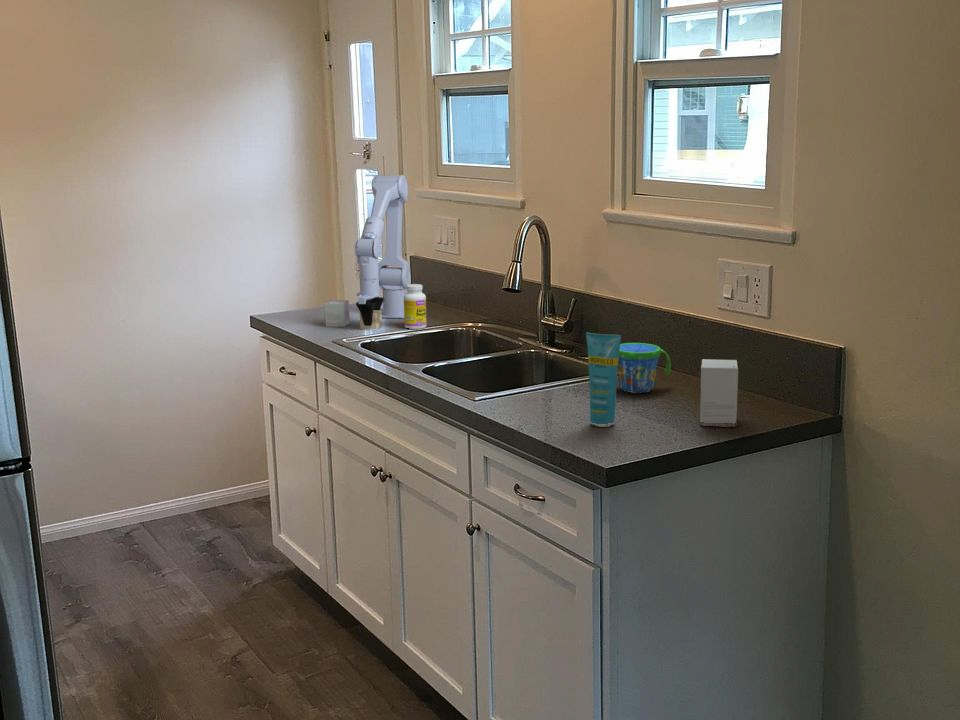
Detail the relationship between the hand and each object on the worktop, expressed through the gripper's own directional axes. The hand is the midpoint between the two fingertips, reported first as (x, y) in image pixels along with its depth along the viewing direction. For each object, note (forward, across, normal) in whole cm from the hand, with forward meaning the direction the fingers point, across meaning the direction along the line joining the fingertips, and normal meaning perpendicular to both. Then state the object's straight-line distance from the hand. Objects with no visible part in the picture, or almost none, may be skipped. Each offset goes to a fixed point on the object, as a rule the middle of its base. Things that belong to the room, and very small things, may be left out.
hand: (371, 323), depth 315 cm
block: (+1, 0, 0) cm, 1 cm away
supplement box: (+2, +78, +104) cm, 130 cm away
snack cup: (+2, +56, +85) cm, 102 cm away
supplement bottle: (+2, -3, +13) cm, 13 cm away
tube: (+2, +84, +81) cm, 117 cm away
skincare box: (+2, -3, -12) cm, 12 cm away
